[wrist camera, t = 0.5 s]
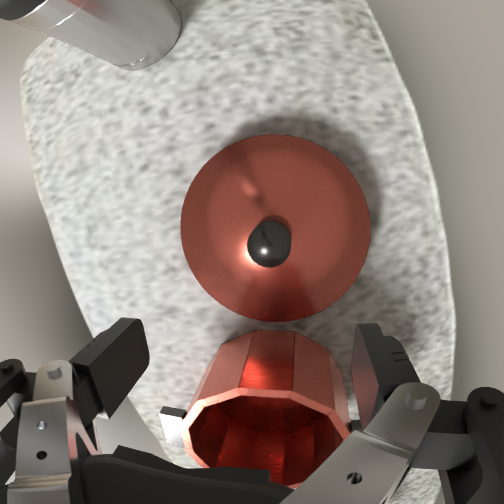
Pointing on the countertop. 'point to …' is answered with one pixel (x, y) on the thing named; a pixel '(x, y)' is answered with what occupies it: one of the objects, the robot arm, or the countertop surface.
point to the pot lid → (275, 228)
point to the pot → (265, 408)
